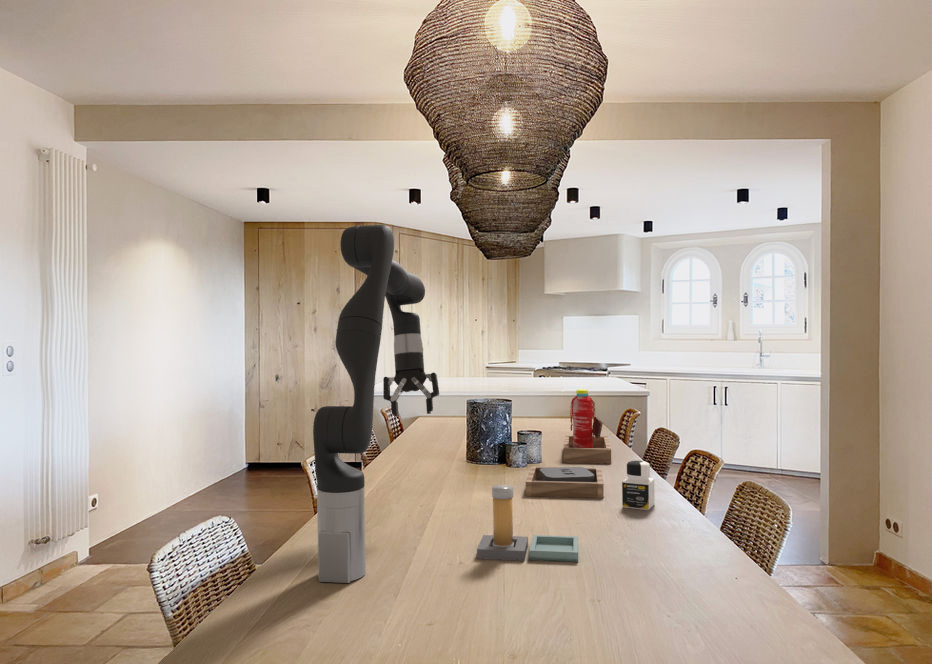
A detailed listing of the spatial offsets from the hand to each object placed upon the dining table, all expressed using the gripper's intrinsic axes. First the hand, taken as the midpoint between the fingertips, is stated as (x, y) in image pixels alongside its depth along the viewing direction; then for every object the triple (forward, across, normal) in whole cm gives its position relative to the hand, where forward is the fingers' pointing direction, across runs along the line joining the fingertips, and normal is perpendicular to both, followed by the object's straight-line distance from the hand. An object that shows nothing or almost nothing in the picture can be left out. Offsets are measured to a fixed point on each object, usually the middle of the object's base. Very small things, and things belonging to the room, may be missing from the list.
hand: (412, 415), depth 178 cm
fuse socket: (+32, +22, -22) cm, 45 cm away
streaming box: (+24, +38, +39) cm, 60 cm away
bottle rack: (+16, +48, +93) cm, 106 cm away
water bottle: (+16, +48, +93) cm, 106 cm away
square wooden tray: (+24, +38, +39) cm, 59 cm away
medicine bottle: (+29, +56, +19) cm, 66 cm away
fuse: (+32, +22, -22) cm, 44 cm away
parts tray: (+33, +33, -21) cm, 51 cm away
